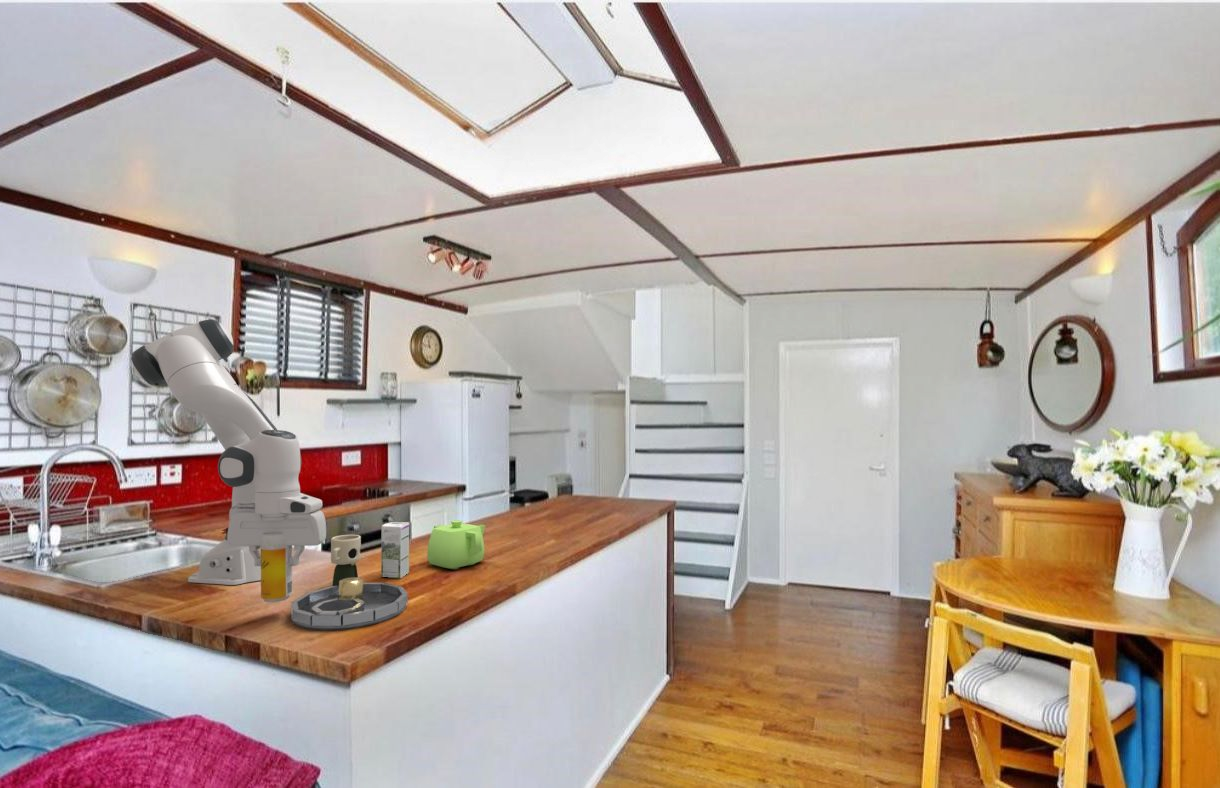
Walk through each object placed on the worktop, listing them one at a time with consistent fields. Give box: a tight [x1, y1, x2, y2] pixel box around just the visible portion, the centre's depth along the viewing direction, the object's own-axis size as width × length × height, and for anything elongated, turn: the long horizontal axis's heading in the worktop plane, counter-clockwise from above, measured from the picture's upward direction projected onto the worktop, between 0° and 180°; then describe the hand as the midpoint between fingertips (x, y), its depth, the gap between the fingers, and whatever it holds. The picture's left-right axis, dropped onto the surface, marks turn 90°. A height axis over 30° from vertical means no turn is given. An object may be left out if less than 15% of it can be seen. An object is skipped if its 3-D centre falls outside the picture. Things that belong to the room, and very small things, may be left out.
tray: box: [290, 576, 409, 631], centre depth 138 cm, size 24×24×7 cm
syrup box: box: [380, 521, 410, 579], centre depth 167 cm, size 6×6×14 cm
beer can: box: [260, 533, 293, 603], centre depth 133 cm, size 6×6×15 cm
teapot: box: [426, 519, 486, 570], centre depth 181 cm, size 18×20×13 cm
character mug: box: [330, 534, 362, 586], centre depth 156 cm, size 11×7×13 cm, turn 174°
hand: (276, 565), depth 134 cm, fingers closed on beer can, 6 cm apart
